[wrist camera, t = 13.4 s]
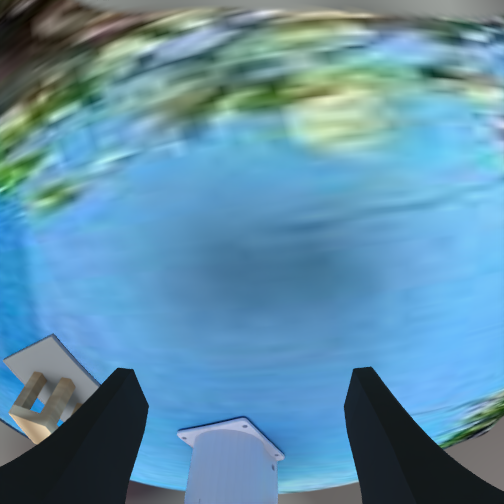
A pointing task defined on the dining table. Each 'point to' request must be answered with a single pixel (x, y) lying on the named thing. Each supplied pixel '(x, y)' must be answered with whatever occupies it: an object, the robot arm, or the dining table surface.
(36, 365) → the slate mat
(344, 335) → the dining table surface
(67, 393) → the wooden u-frame
